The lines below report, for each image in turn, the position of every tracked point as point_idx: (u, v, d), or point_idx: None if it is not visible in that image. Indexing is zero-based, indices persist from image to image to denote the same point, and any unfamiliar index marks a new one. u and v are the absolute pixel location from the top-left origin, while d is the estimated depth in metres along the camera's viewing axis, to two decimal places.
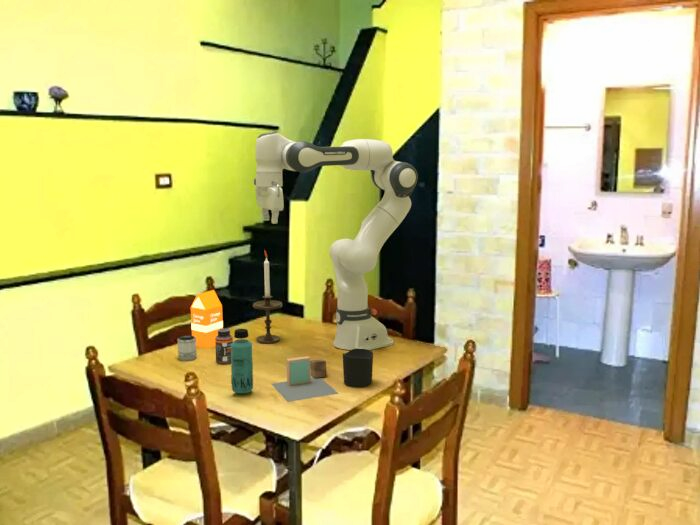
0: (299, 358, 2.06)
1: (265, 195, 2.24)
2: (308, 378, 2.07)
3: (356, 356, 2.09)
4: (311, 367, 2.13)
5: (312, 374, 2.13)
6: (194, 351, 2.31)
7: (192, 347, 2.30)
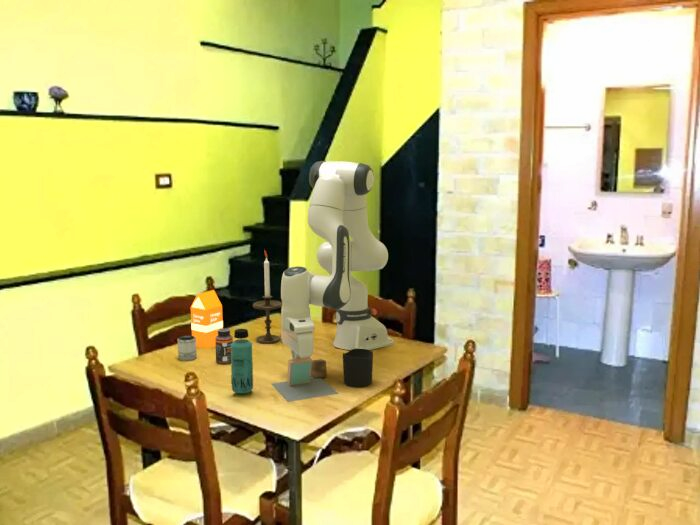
0: (301, 359, 2.04)
1: None
2: (308, 378, 2.06)
3: (356, 356, 2.09)
4: (311, 367, 2.13)
5: (312, 374, 2.13)
6: (194, 351, 2.31)
7: (192, 347, 2.30)
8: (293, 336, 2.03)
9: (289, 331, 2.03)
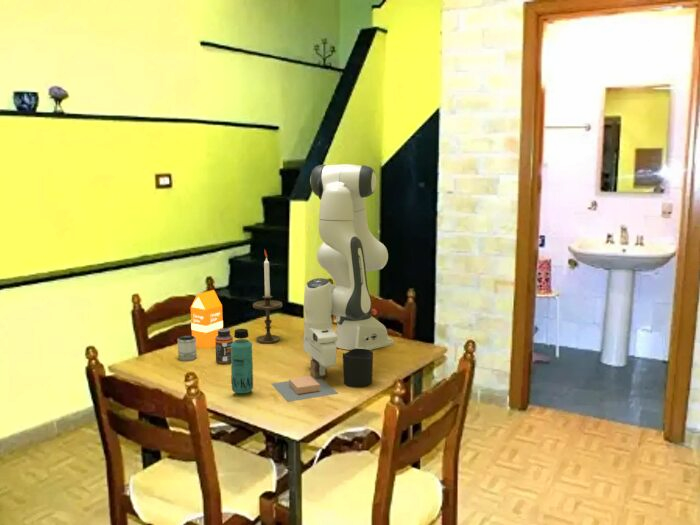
0: (310, 388, 1.99)
1: None
2: None
3: (356, 356, 2.09)
4: (312, 367, 2.13)
5: (312, 374, 2.12)
6: (194, 351, 2.31)
7: (192, 347, 2.30)
8: (316, 346, 2.09)
9: (312, 341, 2.09)
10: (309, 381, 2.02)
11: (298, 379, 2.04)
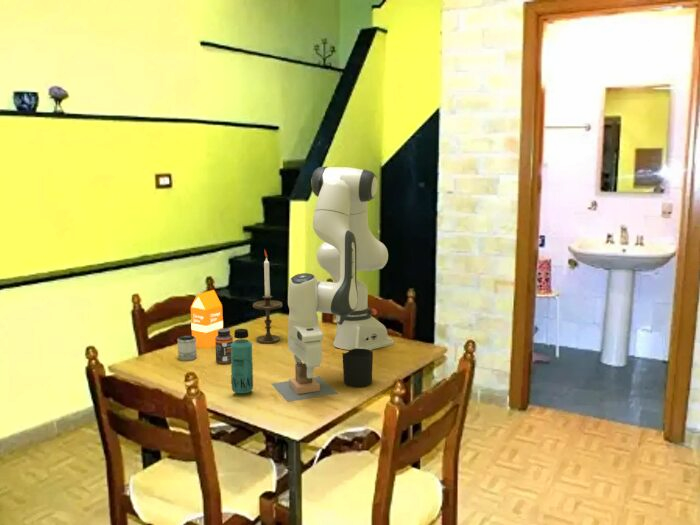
0: (310, 388, 1.99)
1: None
2: None
3: (356, 356, 2.09)
4: (296, 372, 2.01)
5: (297, 379, 2.01)
6: (194, 351, 2.31)
7: (192, 347, 2.30)
8: (301, 345, 1.97)
9: (296, 340, 1.97)
10: None
11: None
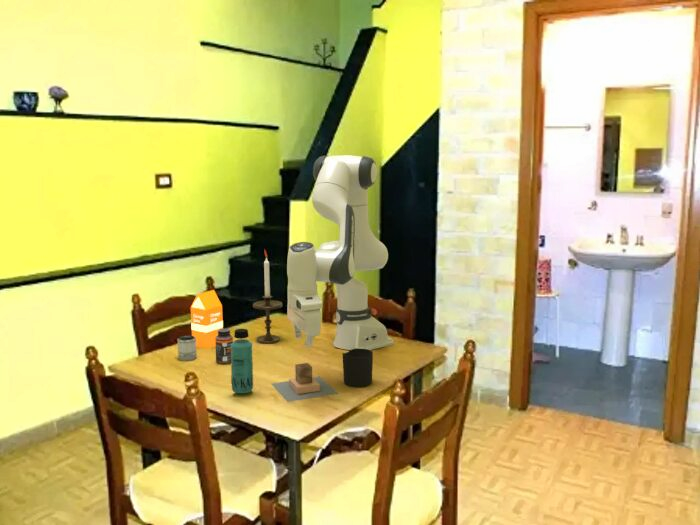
0: (310, 388, 1.99)
1: None
2: None
3: (356, 356, 2.09)
4: (296, 372, 2.01)
5: (297, 379, 2.01)
6: (194, 351, 2.31)
7: (192, 347, 2.30)
8: (300, 314, 1.96)
9: (296, 309, 1.96)
10: None
11: None
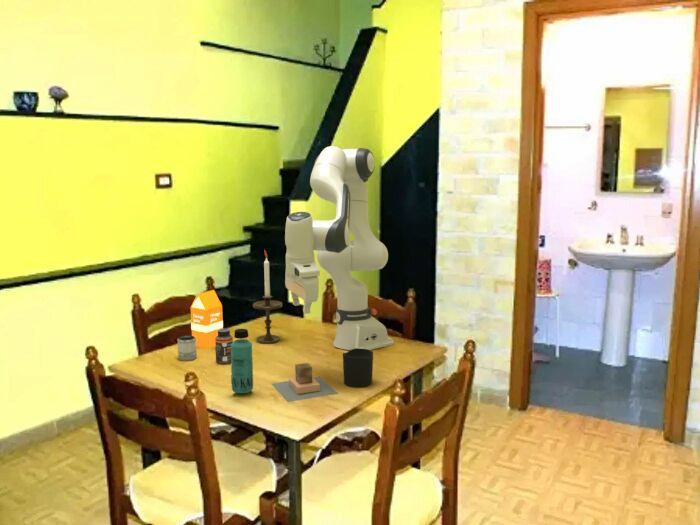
0: (310, 388, 1.99)
1: None
2: None
3: (356, 356, 2.09)
4: (296, 372, 2.01)
5: (297, 379, 2.01)
6: (194, 351, 2.31)
7: (192, 347, 2.30)
8: (298, 281, 2.02)
9: (294, 276, 2.02)
10: None
11: None
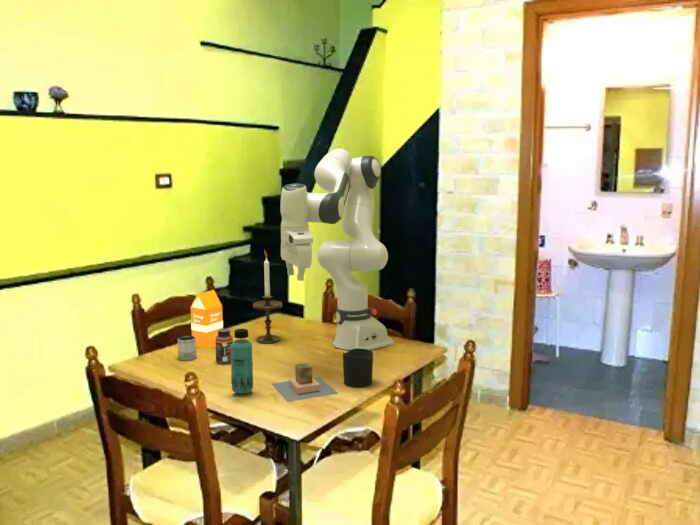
0: (310, 388, 1.99)
1: None
2: None
3: (356, 356, 2.09)
4: (296, 372, 2.01)
5: (297, 379, 2.01)
6: (194, 351, 2.31)
7: (192, 347, 2.30)
8: (292, 250, 2.11)
9: (288, 245, 2.10)
10: None
11: None
